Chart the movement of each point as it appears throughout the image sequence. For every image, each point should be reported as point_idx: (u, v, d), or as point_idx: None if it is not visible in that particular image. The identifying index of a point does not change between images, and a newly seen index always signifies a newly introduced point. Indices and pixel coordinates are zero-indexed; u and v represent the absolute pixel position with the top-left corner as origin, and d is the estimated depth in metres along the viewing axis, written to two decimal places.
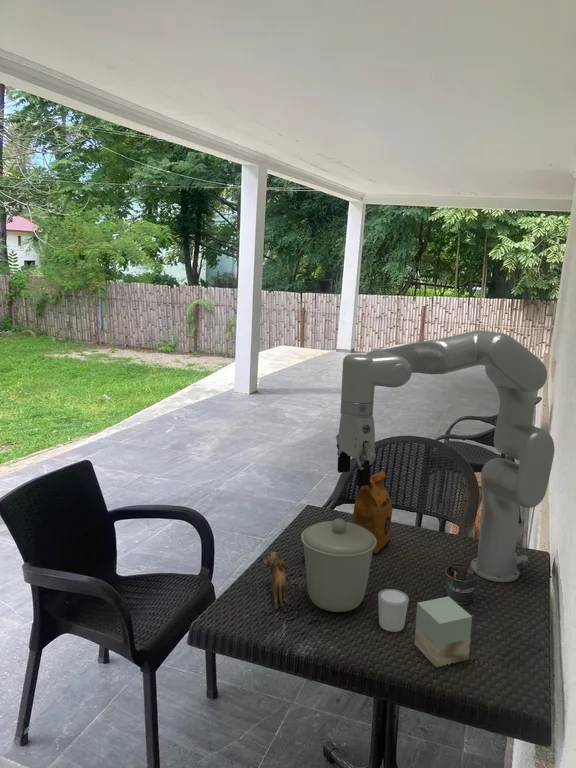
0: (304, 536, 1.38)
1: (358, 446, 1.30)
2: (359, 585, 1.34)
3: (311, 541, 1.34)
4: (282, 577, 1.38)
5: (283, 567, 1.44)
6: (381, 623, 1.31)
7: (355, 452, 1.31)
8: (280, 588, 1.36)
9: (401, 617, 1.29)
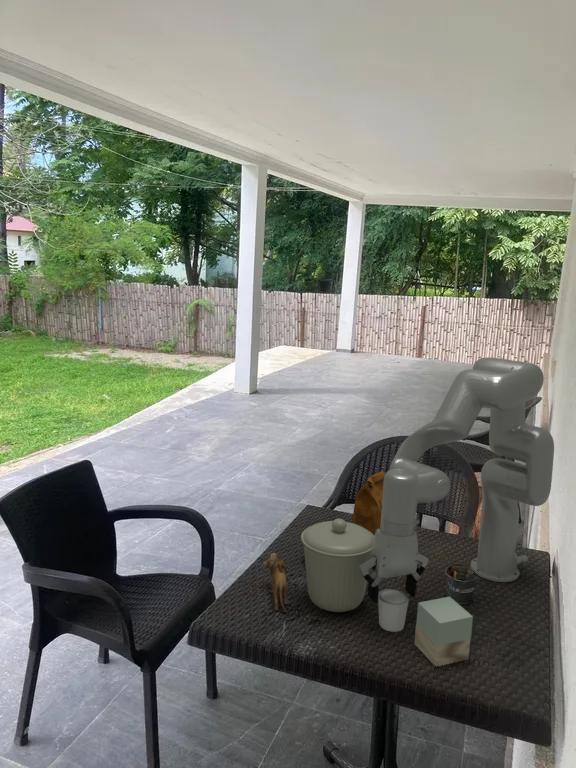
0: (304, 536, 1.38)
1: (417, 559, 1.29)
2: (359, 585, 1.34)
3: (311, 541, 1.34)
4: (282, 578, 1.38)
5: (283, 568, 1.43)
6: (381, 623, 1.31)
7: (415, 566, 1.29)
8: (280, 589, 1.36)
9: (401, 617, 1.29)
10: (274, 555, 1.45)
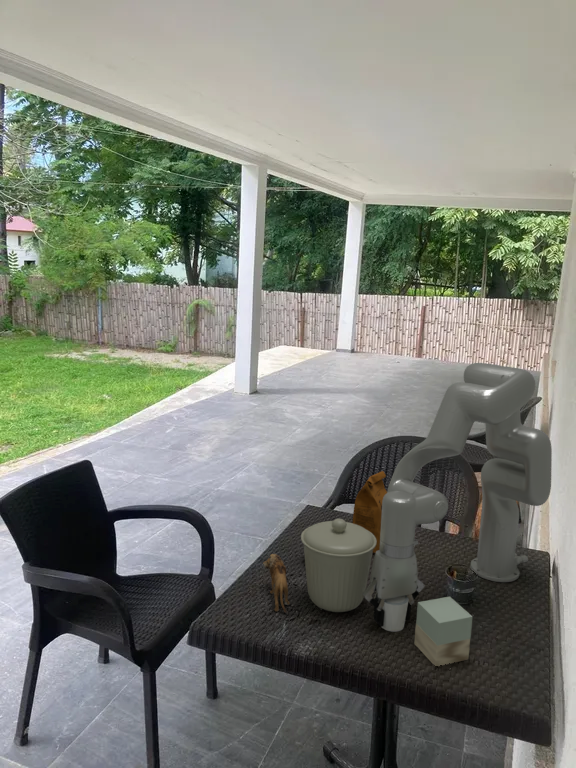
0: (304, 536, 1.38)
1: (417, 579, 1.30)
2: (359, 585, 1.34)
3: (311, 541, 1.34)
4: (283, 579, 1.37)
5: (283, 569, 1.43)
6: None
7: (414, 587, 1.30)
8: (281, 590, 1.35)
9: (401, 617, 1.29)
10: (274, 556, 1.44)
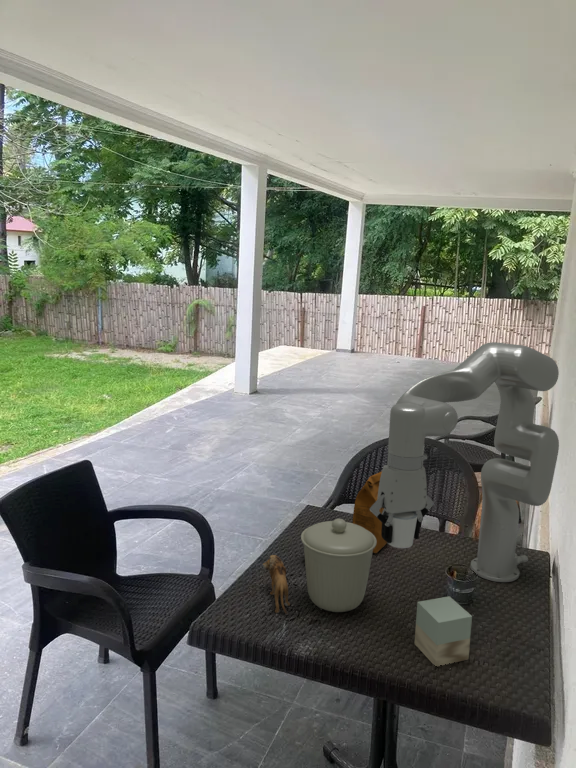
0: (304, 536, 1.38)
1: (426, 495, 1.26)
2: (359, 585, 1.34)
3: (311, 541, 1.34)
4: (283, 580, 1.37)
5: (283, 570, 1.42)
6: None
7: (424, 503, 1.26)
8: (281, 592, 1.35)
9: (410, 533, 1.25)
10: (274, 557, 1.44)
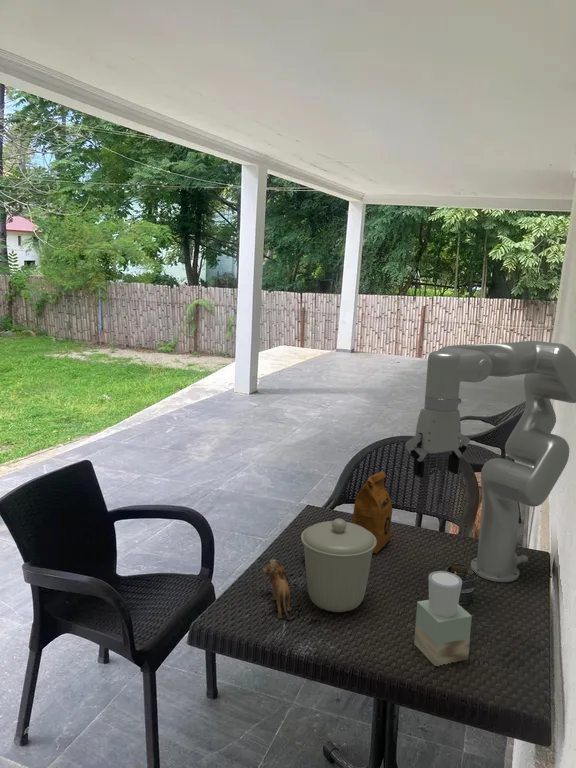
0: (304, 536, 1.38)
1: (460, 436, 1.36)
2: (359, 585, 1.34)
3: (311, 541, 1.34)
4: (285, 585, 1.35)
5: (284, 574, 1.40)
6: (433, 608, 1.19)
7: (458, 443, 1.36)
8: (284, 597, 1.33)
9: (455, 600, 1.18)
10: (274, 561, 1.41)
